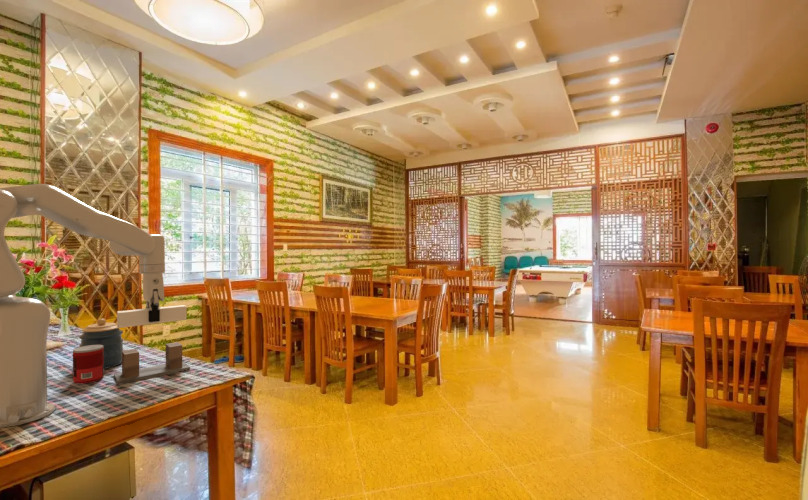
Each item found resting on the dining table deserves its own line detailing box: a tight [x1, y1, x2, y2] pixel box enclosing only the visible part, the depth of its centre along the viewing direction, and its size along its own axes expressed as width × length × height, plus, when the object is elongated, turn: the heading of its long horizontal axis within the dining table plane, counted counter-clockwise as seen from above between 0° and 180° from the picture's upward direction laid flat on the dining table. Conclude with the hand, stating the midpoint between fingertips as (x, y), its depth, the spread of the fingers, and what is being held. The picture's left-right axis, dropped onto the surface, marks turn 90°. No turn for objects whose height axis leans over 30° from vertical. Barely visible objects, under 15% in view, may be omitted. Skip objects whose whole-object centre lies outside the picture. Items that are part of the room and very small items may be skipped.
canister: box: [78, 318, 124, 369], centre depth 141 cm, size 13×13×18 cm
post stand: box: [113, 341, 191, 386], centre depth 132 cm, size 10×21×9 cm, turn 134°
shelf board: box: [116, 304, 187, 329], centre depth 132 cm, size 4×20×5 cm, turn 134°
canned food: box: [72, 345, 105, 385], centre depth 126 cm, size 8×8×11 cm
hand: (152, 320), depth 132 cm, fingers closed on shelf board, 4 cm apart
